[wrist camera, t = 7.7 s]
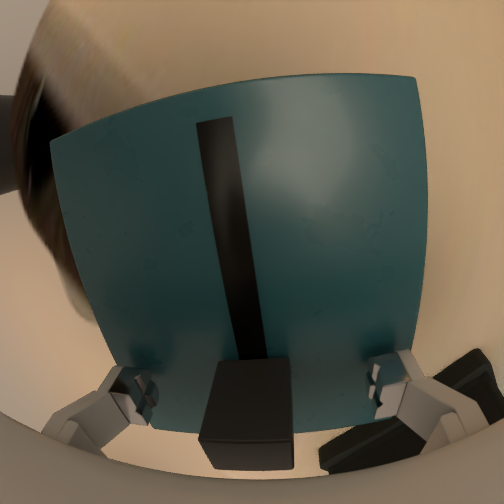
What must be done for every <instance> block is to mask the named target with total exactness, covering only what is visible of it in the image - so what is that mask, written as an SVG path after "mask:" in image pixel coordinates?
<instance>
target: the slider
mask: <svg viewBox="0 0 504 504" xmlns="http://www.w3.org/2000/svg"><path fill="white" fill-rule="evenodd" d="M198 441H199V443H200V444H201V446H202V448H203V450H204V452H205V454H206V455H207V457H208V458H209V460H210V462H211V464H212V465H213V467H214V468H215V469H219V470H239V471H272V470H291V469H293V468H294V431H293V400H292V384H291V372H290V360H289V358H288V357H281V358H268V359H251V360H226V361H218V364H217V368H216V371H215V375H214V379H213V383H212V387H211V391H210V395H209V398H208V402H207V406H206V410H205V414H204V418H203V422H202V426H201V429H200V433H199V437H198Z"/></svg>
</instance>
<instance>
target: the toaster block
mask: <svg viewBox="0 0 504 504" xmlns="http://www.w3.org/2000/svg"><path fill="white" fill-rule="evenodd" d="M50 149H51V157H52V164H53V170H54V176H55V182H56V187H57V192H58V197H59V202H60V207H61V211H62V216H63V220H64V224H65V228H66V232H67V235H68V239H69V243H70V246H71V250H72V253H73V256H74V260H75V263H76V266H77V269H78V272H79V275H80V278H81V281H82V284H83V287H84V289H85V292H86V295H87V298H88V300H89V303H90V305H91V308H92V310H93V313H94V315H95V318H96V320H97V323H98V325H99V327H100V330H101V332H102V334H103V336H104V339H105V341H106V343H107V345H108V347H109V350H110V352H111V354H112V356H113V358H114V360H115V362H116V364H117V366H124V367H125V366H127V367H136V368H146V369H148V370H149V371H150V373H151V375H152V377H151V380H152V381H153V382H154V383H156V385H157V387H158V391H159V400H158V403H157V406H155V407H154V408H152V409H151V410H152V412H153V415H152V417H151V420H150V424H151V426H152V427H153V428H154V429H159V430H167V431H176V432H186V433H198V434H199V433H200V429H201V426H202V422H203V418H204V414H205V410H206V406H207V402H208V398H209V395H210V391H211V387H212V383H213V379H214V375H215V371H216V368H217V364H218V361H226V360H251V359H268V358H281V357H288V358H289V360H290V372H291V384H292V400H293V431H294V433H304V432H314V431H323V430H330V429H338V428H344V427H350V426H356V425H362V424H367V423H372V422H377V421H381V420H386V419H390V418H392V416H391V417H387V418H382V419H376V420H374V416H373V413H372V409H371V402H372V400H371V399H370V398H368V396H367V392H366V384H365V379H366V373H367V372H368V371H369V368H368V365H367V364H368V359H369V357H370V356H375V355H380V354H385V353H390V352H395V351H399V350H403V349H407V348H408V349H409V350H410V351H411V348H412V344H413V339H414V334H415V329H416V324H417V318H418V312H419V306H420V300H421V293H422V285H423V276H424V267H425V256H426V242H427V218H428V184H427V161H426V147H425V137H424V127H423V119H422V112H421V105H420V99H419V93H418V87H417V82H416V79H415V78H414V77H410V76H399V75H387V74H367V73H322V74H302V75H289V76H278V77H269V78H261V79H253V80H246V81H240V82H234V83H228V84H222V85H217V86H212V87H207V88H202V89H198V90H193V91H189V92H185V93H181V94H177V95H173V96H169V97H166V98H162V99H159V100H155V101H152V102H148V103H145V104H142V105H139V106H136V107H133V108H130V109H127V110H124V111H121V112H118V113H115V114H113V115H110V116H107V117H105V118H102V119H99V120H97V121H94V122H92V123H89V124H87V125H85V126H82V127H80V128H78V129H75V130H73V131H71V132H69V133H67V134H64V135H62V136H60V137H58V138H56V139H54V140H52V141H51V142H50Z"/></svg>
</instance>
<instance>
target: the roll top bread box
mask: <svg viewBox="0 0 504 504" xmlns="http://www.w3.org/2000/svg"><path fill="white" fill-rule="evenodd" d="M433 379H434V380H436V381H438V382H440V383H442V384H444V385H446V386H448V387H450V388H451V389H453V390H455V391H457V392H459V393H461V394H463V395H465V396H467V397H469V398H471V399H472V400H474V401H476V402H477V404H478V405H479V407H480V409H481V411H482V413H483V414H484V416H485V418H486V420H487V422H488V424H489V426H490V425H492V424H494V423H495V422H497V421H499V420H501V419H503V418H504V397H503V395H502V393H501V392H500V390H499V389H498V387H497V383H496V379H495V376H494V372H493V369H492V365H491V363H490V362H489V360H488V359H487V358H486V356H485V355H484V354H483V352H482V351H481V350H480V349H475V350H472V351H471V352H470V353H468V354H467V355H465V356H464V357H462V358H461V359H459V360H458V361H456V362H455V363H453V364H452V365H451V366H449V367H448V368H446V369H445V370H444V371H442V372H441V373H439V374H438V375H436V376H435V377H433ZM426 443H427V441H425V440H424V439H423V438H422V437H421V436H419V435H418V434H417V433H416V432H414V431H413V430H412V429H411V428H410V427H409V426H407V425H406V424H405V423H404V422H403V421H401V420H400V419H399V418H398V417H397V415H396V416H392V418H390V419H386V420H381V421H377V422H372V423H367V424H362V425H358V426H356V427H354V428H353V429H351V430H349V431H348V432H346V433H344V434H342V435H341V436H339V437H337V438H335V439H334V440H332V441H330V442H329V443H327V444H326V445H324V446H322V447H321V448H320V449H319V462H320V468H321V469H323V470H325V471H328V472H329V475H332V474H339V473H346V472H351V471H357V470H362V469H367V468H372V467H376V466H380V465H385V464H389V463H392V462H396V461H400V460H403V459H407V458H410V457H413V456H417V455H419V454H420V453H421V451H422V449H423V448H424V446H425V444H426Z"/></svg>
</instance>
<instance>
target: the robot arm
mask: <svg viewBox="0 0 504 504" xmlns="http://www.w3.org/2000/svg"><path fill="white" fill-rule="evenodd" d="M367 365H368V368H369V371H368V372H367V373H366V379H365V384H366V392H367V396H368V398H370V399H371V400H372V402H371V409H372V413H373V416H374V420H376V419H382V418H387V417H391V416H396V415H397V417H398V418H399V419H400V420H401V421H403V422H404V423H405V424H406V425H407V426H409V427H410V428H411V429H412V430H413V431H414V432H416V433H417V434H418V435H419V436H421V437H422V438H423V439H424V440H425V441H427V443H426V444H425V446H424V448H423V449H422V451H421V453H420V454H419V455H417V456H413V457H410V458H407V459H403V460H400V461H396V462H392V463H389V464H385V465H380V466H376V467H372V468H367V469H362V470H357V471H351V472H346V473H339V474H332V475H325V476H316V477H306V478H293V479H268V480H249V479H224V478H211V477H200V476H191V475H183V474H177V473H171V472H165V471H160V470H154V469H149V468H144V467H140V466H135V465H131V464H128V463H124V462H120V461H116V460H113V459H109V458H107V456H106V455H105V454H104V453H103V452H102V451H101V450H100V449H101V448H102V447H104V446H105V445H106V444H107V443H108V442H110V441H111V440H112V439H113V438H114V437H116V436H117V435H118V434H119V433H120V432H122V431H123V430H124V429H125V428H126V427H127V426H129V423H130V424H137V425H146V426H148V424H149V422H150V420H151V417H152V415H153V412H152V410H151V409H152V408H154V407H155V406H157V403H158V400H159V391H158V387H157V385H156V383H154V382H153V381H152V380H151V377H152V375H151V373H150V371H149V370H148V369H146V368H136V367H127V366H125V367H124V366H117V365H116V366H114V367H112V369H111V370H110V372H109V373H108V375H107V376H106V378H105V379H104V381H103V383H102V384H101V385H100V387H99V388H98V390H97V391H92V392H91V393H89V394H87V395H86V396H84V397H82V398H80V399H78V400H77V401H75V402H73V403H72V404H70V405H68V406H66V407H64V408H62V409H61V410H59V411H57V412H55V413H54V414H53V415H52V417H51V418H50V420H49V421H48V422H47V424H46V425H45V427H44V429H43V430H42V432H41V433H40V432H38V431H36V430H34V429H32V428H30V427H27V426H26V425H23V424H22V423H20V422H18V421H16V420H14V419H12V418H10V417H9V416H7V415H5V414H3V413H2V412H0V504H504V418H503V419H501V420H499V421H497V422H495V423H494V424H492V425H490V426H489V424H488V422H487V420H486V418H485V416H484V414H483V413H482V411H481V409H480V407H479V405H478V404H477V402H476V401H474V400H472V399H471V398H469V397H467V396H465V395H463V394H461V393H459V392H457V391H455V390H453V389H451V388H450V387H448V386H446V385H444V384H442V383H440V382H438V381H436V380H434V379H433V378H431V377H429V376H428V377H425V376H424V374H423V372H422V371H421V369H420V367H419V365H418V363H417V361H416V360H415V358H414V356H413V354H412V353H411V351H410V350H409V349H408V348H407V349H403V350H399V351H395V352H390V353H385V354H380V355H375V356H370V357H369V359H368V364H367Z"/></svg>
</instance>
